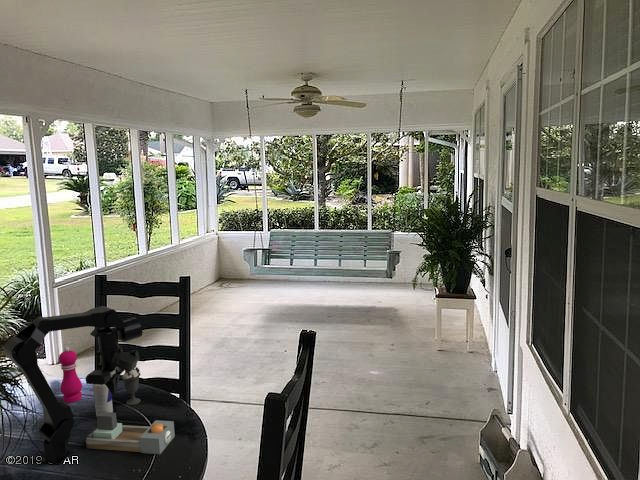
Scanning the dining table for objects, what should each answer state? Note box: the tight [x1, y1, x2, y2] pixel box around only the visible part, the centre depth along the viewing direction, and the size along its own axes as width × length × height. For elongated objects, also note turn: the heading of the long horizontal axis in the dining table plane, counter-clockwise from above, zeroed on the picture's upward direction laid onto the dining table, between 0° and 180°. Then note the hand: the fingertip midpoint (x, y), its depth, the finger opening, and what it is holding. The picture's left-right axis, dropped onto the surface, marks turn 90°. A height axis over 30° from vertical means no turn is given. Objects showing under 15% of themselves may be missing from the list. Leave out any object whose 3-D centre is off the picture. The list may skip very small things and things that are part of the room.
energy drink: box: [92, 384, 114, 417], centre depth 178 cm, size 5×5×12 cm
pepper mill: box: [58, 346, 83, 404], centre depth 190 cm, size 7×7×20 cm
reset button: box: [150, 423, 163, 434], centre depth 159 cm, size 4×4×4 cm
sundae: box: [120, 366, 141, 406], centre depth 187 cm, size 7×7×15 cm
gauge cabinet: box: [140, 419, 176, 455], centre depth 160 cm, size 10×6×5 cm, turn 171°
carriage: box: [92, 412, 123, 439], centre depth 162 cm, size 6×6×7 cm
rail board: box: [85, 424, 150, 453], centre depth 162 cm, size 9×18×4 cm, turn 81°
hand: (113, 393), depth 166 cm, fingers closed
